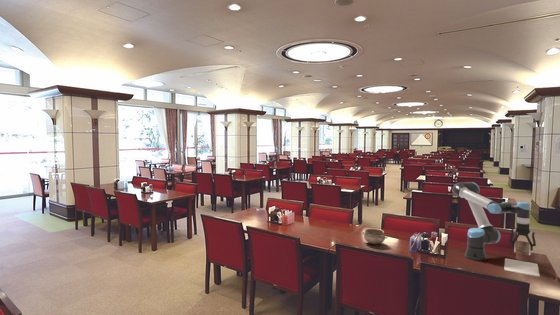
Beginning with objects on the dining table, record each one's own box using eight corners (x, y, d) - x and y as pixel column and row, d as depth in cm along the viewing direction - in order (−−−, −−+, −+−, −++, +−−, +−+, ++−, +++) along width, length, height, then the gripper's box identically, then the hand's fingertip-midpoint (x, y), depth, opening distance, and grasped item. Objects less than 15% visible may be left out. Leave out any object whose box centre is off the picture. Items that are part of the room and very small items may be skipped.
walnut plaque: (515, 253, 235) (515, 244, 228) (516, 248, 237) (515, 239, 231) (529, 255, 230) (528, 247, 223) (529, 250, 232) (529, 242, 225)
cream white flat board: (539, 277, 214) (539, 276, 214) (504, 270, 227) (504, 269, 227) (537, 265, 237) (537, 264, 237) (505, 259, 249) (505, 258, 249)
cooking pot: (391, 244, 286) (391, 231, 285) (382, 249, 272) (382, 235, 271) (366, 238, 303) (366, 226, 302) (357, 243, 289) (357, 230, 289)
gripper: (541, 224, 225) (540, 255, 225) (506, 219, 239) (505, 249, 239) (541, 226, 219) (540, 258, 220) (505, 221, 233) (504, 251, 234)
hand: (522, 253), depth 230 cm, fingers closed on walnut plaque, 8 cm apart
